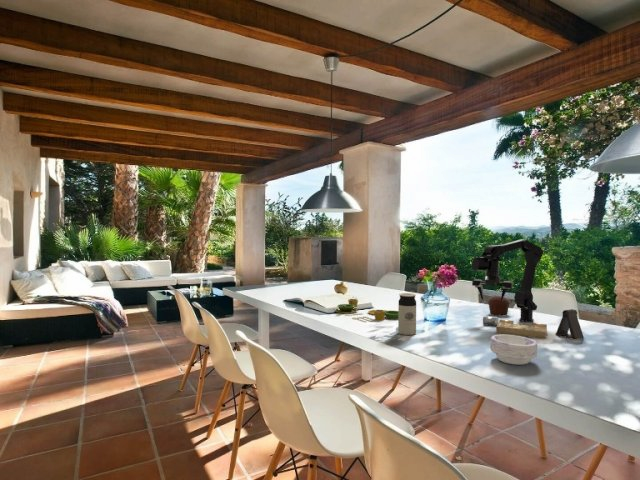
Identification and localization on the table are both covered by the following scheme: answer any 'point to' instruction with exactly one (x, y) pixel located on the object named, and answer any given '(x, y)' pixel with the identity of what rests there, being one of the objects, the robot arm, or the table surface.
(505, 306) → the muffin
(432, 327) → the table surface
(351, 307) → the tableware set
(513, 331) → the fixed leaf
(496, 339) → the paper bowls
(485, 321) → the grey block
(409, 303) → the travel mug
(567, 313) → the dark brown a-frame stand
